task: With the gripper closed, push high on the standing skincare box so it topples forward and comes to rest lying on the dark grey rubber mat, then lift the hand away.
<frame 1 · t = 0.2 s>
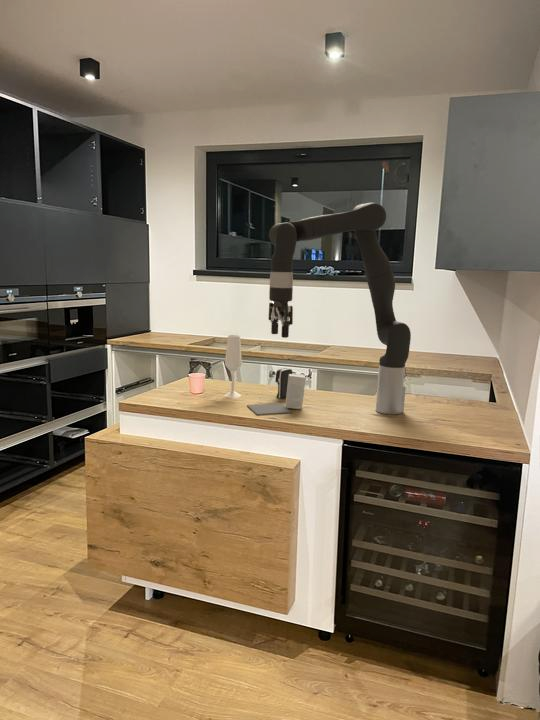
hand: (279, 335, 173), 29 cm above the worktop, fingers open, 8 cm apart
skincare box: (293, 407, 193), on the worktop, touching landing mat
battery: (282, 397, 208), on the worktop
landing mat: (269, 409, 189), on the worktop
champagne flute: (232, 396, 207), on the worktop
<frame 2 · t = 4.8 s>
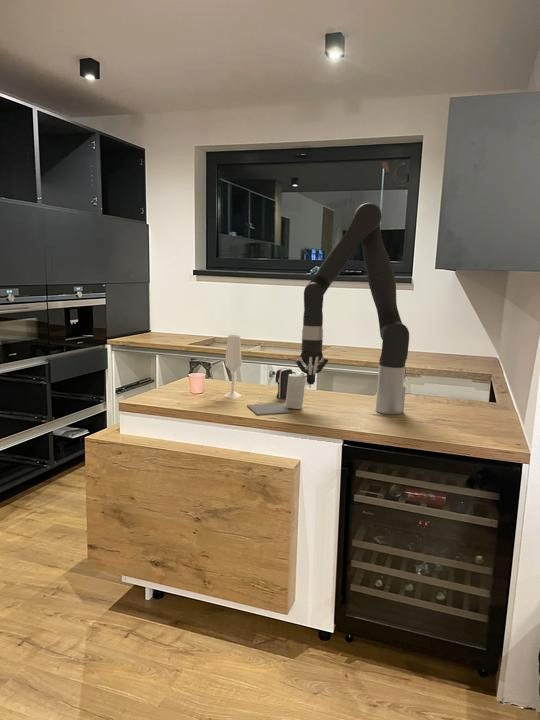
hand: (310, 384, 193), 9 cm above the worktop, fingers closed
skincare box: (293, 407, 193), on the worktop, touching gripper, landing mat
everything else where it was.
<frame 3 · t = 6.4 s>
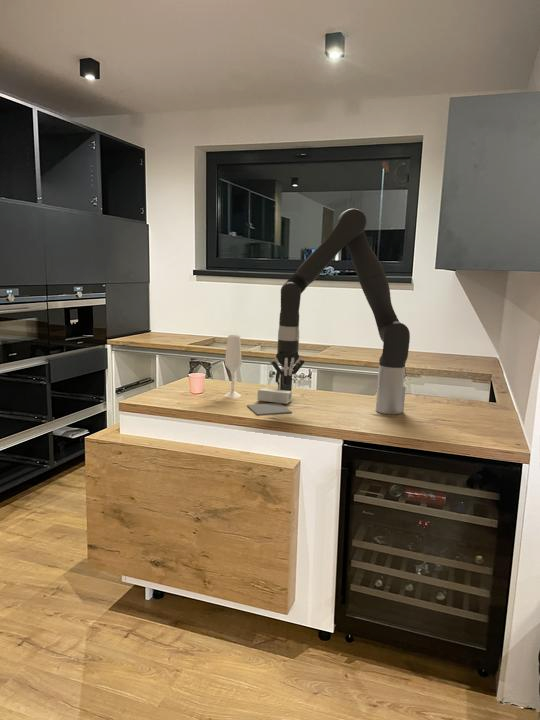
hand: (286, 385, 190), 9 cm above the worktop, fingers closed
skincare box: (290, 397, 198), point 2 cm above the worktop, touching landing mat
everything else where it was.
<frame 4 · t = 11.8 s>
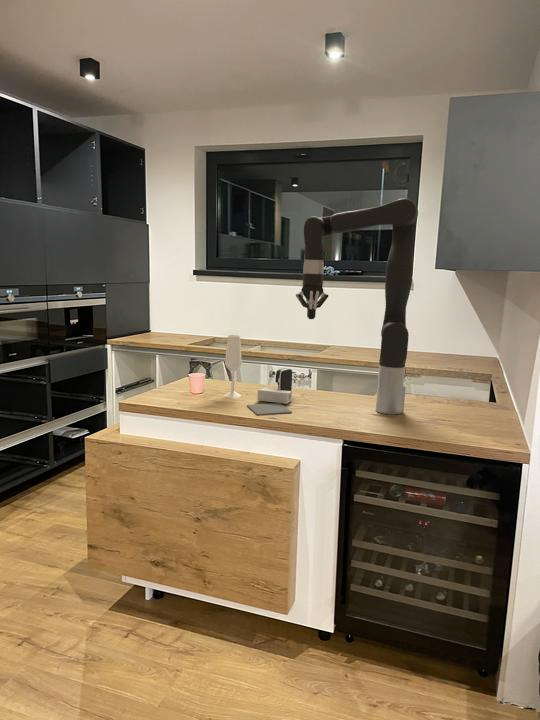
hand: (311, 318, 197), 32 cm above the worktop, fingers closed
nothing on the worktop moved.
at the end: skincare box tilted 90°; skincare box touching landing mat, worktop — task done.
